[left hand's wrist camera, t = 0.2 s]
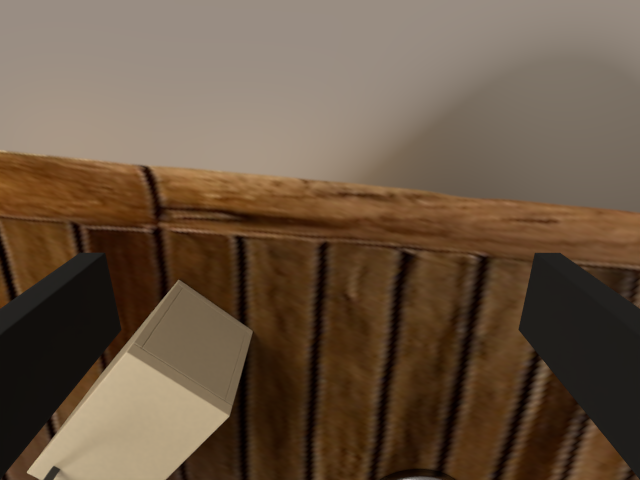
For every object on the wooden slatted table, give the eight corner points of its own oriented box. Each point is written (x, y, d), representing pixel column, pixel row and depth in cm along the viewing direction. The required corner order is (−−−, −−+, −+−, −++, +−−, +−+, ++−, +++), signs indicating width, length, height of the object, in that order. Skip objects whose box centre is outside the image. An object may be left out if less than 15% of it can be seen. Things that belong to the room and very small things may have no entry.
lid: (128, 509, 40) (81, 613, 32) (34, 461, 37) (-41, 560, 30) (232, 405, 35) (207, 497, 27) (132, 342, 33) (73, 423, 25)
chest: (171, 417, 50) (131, 506, 40) (100, 375, 48) (37, 457, 37) (253, 330, 46) (233, 405, 35) (179, 279, 43) (133, 342, 33)
